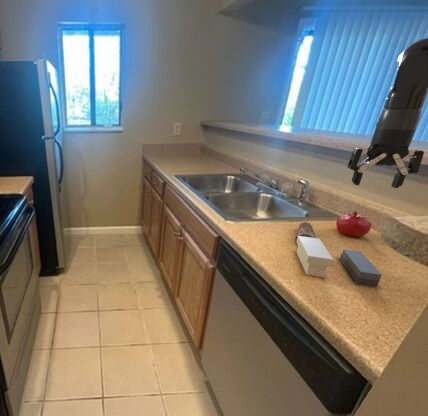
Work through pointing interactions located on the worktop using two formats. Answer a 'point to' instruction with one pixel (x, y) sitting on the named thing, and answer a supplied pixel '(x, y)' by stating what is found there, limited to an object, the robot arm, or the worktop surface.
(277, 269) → the worktop surface
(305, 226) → the bread
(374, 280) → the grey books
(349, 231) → the pomegranate
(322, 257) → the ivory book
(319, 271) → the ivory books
